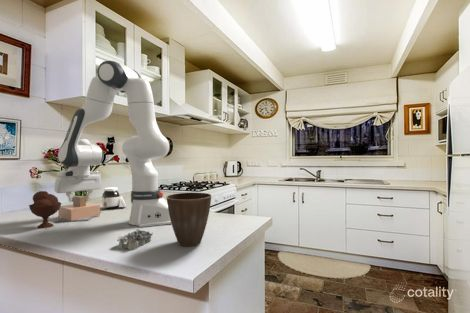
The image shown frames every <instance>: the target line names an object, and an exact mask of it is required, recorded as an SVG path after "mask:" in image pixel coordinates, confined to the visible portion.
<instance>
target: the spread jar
mask: <svg viewBox="0 0 470 313" xmlns="http://www.w3.org/2000/svg"><path fill="white" fill-rule="evenodd" d="M118 188H119V187H112V186H111V187H104V189H103V190H104V191H103V193H102V196H101V203H102V204H101V205H102V209H103V210H108V211H110V210H115V209H116V210H117V209H119V207H120V203H121V205H122V208H124V209H125V208H126V207H127V204H126V203H125V200H124V197H123V196H122V195H120V193H119V191H118Z"/></svg>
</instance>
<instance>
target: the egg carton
mask: <svg viewBox="0 0 470 313" xmlns="http://www.w3.org/2000/svg"><path fill="white" fill-rule="evenodd" d="M153 234H154V232H151V233H150V231H146V230H141V229H135V230H134V231H132V232H128V233H127V234H124V235H123V236H118V237H117V239H116V241H117V242H118V248H119V249H120V248H121V249H122V250H123V249H129V250H130V251H132V250H137V249H138V248H139V247H140V245H141V246H144V244H145V242H146V243H151V242H150V241H152V236H153ZM145 245H146V244H145ZM131 249H132V250H131Z"/></svg>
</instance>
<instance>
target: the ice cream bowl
mask: <svg viewBox="0 0 470 313" xmlns="http://www.w3.org/2000/svg"><path fill="white" fill-rule="evenodd" d="M32 201H33V203H32V204H29V205H28V207H29V211H30V212H31V213H32V214H33V215H35V216H36V217H39V218H42V223H39V225H37V229H47V228H52V227H54V224H53V223H51V222H49V218H50V217H51V216H53V215H55V214H56V213H57V212H58V210H59V209H60V207H61V206H62V202H60V201H59V199H58V196H56V195H54V194H52V193H48V191H44V190H41V191H40V190H39V191H37V192H35V193H34V194H33V195H32Z"/></svg>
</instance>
